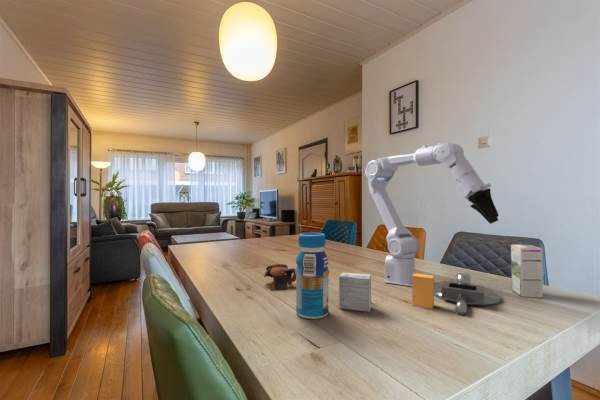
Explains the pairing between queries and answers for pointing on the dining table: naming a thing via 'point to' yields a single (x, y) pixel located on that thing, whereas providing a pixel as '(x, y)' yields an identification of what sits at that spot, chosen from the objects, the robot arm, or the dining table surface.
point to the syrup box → (527, 270)
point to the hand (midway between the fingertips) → (494, 220)
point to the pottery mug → (280, 276)
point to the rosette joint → (465, 293)
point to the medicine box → (355, 291)
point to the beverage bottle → (312, 277)
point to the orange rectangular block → (423, 290)
